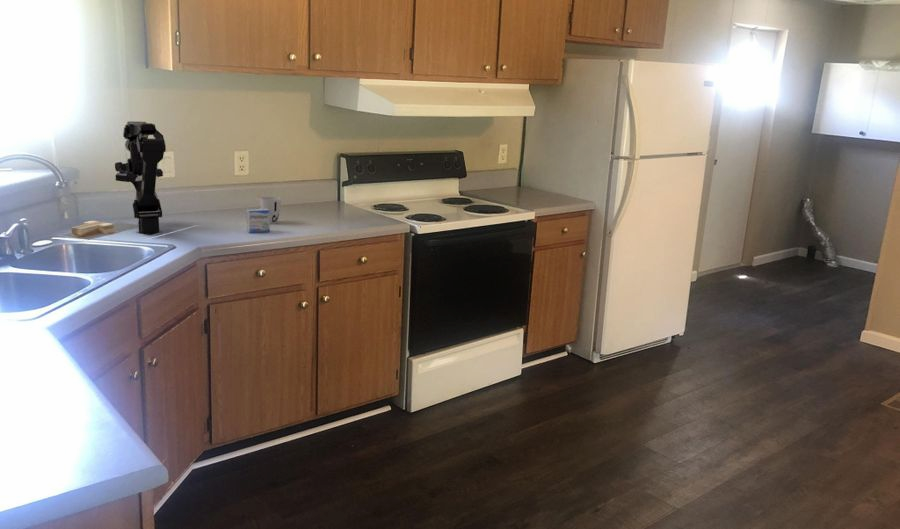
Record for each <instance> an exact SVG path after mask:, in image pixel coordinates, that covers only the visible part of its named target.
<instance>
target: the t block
mask: <svg viewBox="0 0 900 529" xmlns="http://www.w3.org/2000/svg"><path fill="white" fill-rule="evenodd" d="M70 229H71V233H72V236H75V237H85V236H89V235H93V234H98V233H101V234H109V233H113V232H114V224H112V223H109V222H103V221H99V220H98V221H97V220H88V221H84V222H82V224H81V225H77V226H73V227H70ZM75 237H74V238H75Z"/></svg>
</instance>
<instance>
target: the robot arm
mask: <svg viewBox="0 0 900 529" xmlns="http://www.w3.org/2000/svg"><path fill="white" fill-rule="evenodd" d="M122 136H123V138H124V139H125V140H126V141H125V143H124V146H125V149H126V150H127V151H128V152H129V155H130V156H129V158H127V162H125V163H123V162H122V161H119V162H115V163H114V169H115V171H116V172H117V173H116V174H115V176H114V177H115V181H116V182H125V183H131V184H132V185H133V186H134V189H135V199H134V200H133V203H132V210H133V217H134V219H138V220H137V221H138V224H137V225H139V227H138V231H137V232H136V234H141V235H148V236H149V235H150V236H151V235H156V234H159V233H162V232H163V231H161V230H160V218H162V217H163V209H162V207H161V206H162V205H161V201H160V198H158V193H157V192H156V184H157V178H161V177H164V171H163V170H162V169H161V168H158V164H159V163H160V162H162V160H164V155H165V153H166V150H167V149H166V148H167V147H166V146H167V145H166V141H165V138H164V135H163V133H161V132H160V131H158V130H157V128H156V125H155V124H154V123H149V122H146V121H127V122H126V124H125V125H124V127H123V133H122ZM149 136H153V138H149Z"/></svg>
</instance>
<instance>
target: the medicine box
mask: <svg viewBox="0 0 900 529" xmlns="http://www.w3.org/2000/svg"><path fill="white" fill-rule="evenodd" d="M245 212H246V213H245V214H246V218H245V219H246V232H248V234H261V233H270V226H271V224H270V219H269V218H270V217H269V210H268V209H260V208H246V211H245Z"/></svg>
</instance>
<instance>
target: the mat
mask: <svg viewBox="0 0 900 529" xmlns="http://www.w3.org/2000/svg"><path fill="white" fill-rule="evenodd" d="M111 224H114V232H113V233H109V234H101V233H98V234H93V235H89V236H85V237H75V236H72V232H70V233H66V234H62V236H63V237H68V238H76V239H80V240H81V239H82V240H87V241H89V240H94V239H99V238H101V237H105V236H110V235H114V234H117V233H121V232H125V231H130V230H132V229H139V225H138V224H135V223H129V222H123V221H117V222H113V223H111Z"/></svg>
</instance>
